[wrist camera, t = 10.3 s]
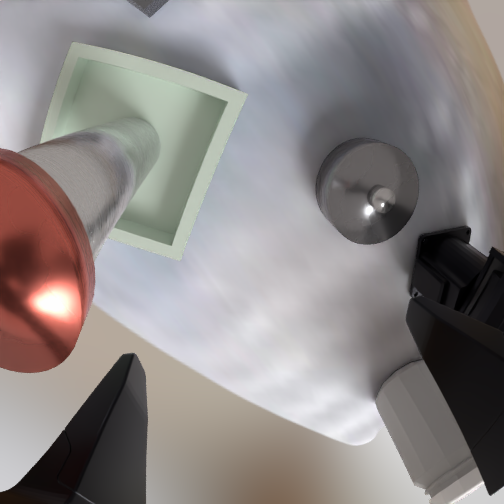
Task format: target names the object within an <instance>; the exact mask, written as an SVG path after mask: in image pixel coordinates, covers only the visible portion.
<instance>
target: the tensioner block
mask: <svg viewBox="0 0 504 504" xmlns="http://www.w3.org/2000/svg"><path fill="white" fill-rule="evenodd" d="M127 1H128V2H130V3H131V4H132V5H134V6H135V7H136V8H138V9H139V10H140V11H142V12H143V13H144V14H146V15H147V16H148V17H151V16H152V15H153V14H154V13H155V12H156V11H157V10H159V9H160V8H161V7H162V6H163V5H164V4H165V3H166V2H168V1H169V0H127Z"/></svg>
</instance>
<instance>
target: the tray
mask: <svg viewBox="0 0 504 504" xmlns="http://www.w3.org/2000/svg"><path fill="white" fill-rule="evenodd" d="M247 96H248V94H246V93H244V92H241V91H239V90H236V89H234V88H231V87H229V86H226V85H224V84H221V83H218V82H216V81H213V80H210V79H207V78H205V77H202V76H199V75H196V74H193V73H190V72H187V71H184V70H181V69H178V68H175V67H172V66H169V65H165V64H162V63H159V62H155V61H152V60H149V59H145V58H141V57H138V56H134V55H130V54H126V53H122V52H118V51H114V50H110V49H106V48H101V47H96V46H92V45H87V44H82V43H77V42H72V44H71V46H70V49H69V51H68V54H67V56H66V59H65V61H64V64H63V67H62V69H61V72H60V75H59V78H58V81H57V84H56V87H55V90H54V93H53V96H52V100H51V103H50V106H49V110H48V113H47V117H46V121H45V124H44V128H43V132H42V136H41V141H40V144H41V143H44V142H46V141H49V140H52V139H55V138H58V137H61V136H64V135H67V134H70V133H73V132H76V131H80V130H83V129H86V128H90V127H93V126H96V125H100V124H104V123H107V122H111V121H115V120H118V119H122V118H127V117H137V118H141V119H143V120H145V121H147V122H148V123H150V124H151V125H152V126H153V127H154V128H155V130H156V131H157V133H158V136H159V139H160V144H161V150H160V155H159V158H158V160H157V162H156V164H155V165H154V167H153V168H152V170H151V171H150V173H149V174H148V176H147V177H146V178H145V180H144V181H143V183H142V184H141V186H140V187H139V189H138V190H137V192H136V193H135V195H134V196H133V198H132V199H131V201H130V203H129V204H128V206H127V207H126V209H125V210H124V212H123V214H122V215H121V217H120V218H119V220H118V222H117V223H116V225H115V227H114V228H113V230H112V231H111V233H110V235H109V237H108V238H109V239H112V240H115V241H118V242H121V243H124V244H127V245H131V246H134V247H137V248H140V249H143V250H146V251H149V252H153V253H156V254H159V255H162V256H165V257H169V258H172V259H175V260H178V261H180V260H181V258H182V255H183V252H184V249H185V247H186V244H187V241H188V238H189V236H190V233H191V230H192V228H193V225H194V222H195V220H196V217H197V215H198V212H199V209H200V207H201V204H202V202H203V199H204V197H205V194H206V192H207V189H208V187H209V184H210V182H211V179H212V177H213V174H214V172H215V169H216V167H217V164H218V162H219V160H220V157H221V155H222V152H223V150H224V148H225V145H226V143H227V141H228V138H229V136H230V134H231V131H232V129H233V127H234V125H235V122H236V120H237V118H238V116H239V113H240V111H241V109H242V107H243V104H244V102H245V100H246V98H247Z"/></svg>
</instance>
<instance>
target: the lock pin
mask: <svg viewBox="0 0 504 504" xmlns="http://www.w3.org/2000/svg"><path fill="white" fill-rule="evenodd" d="M160 150H161V144H160V139H159V136H158V133H157V131H156V130H155V128H154V127H153V126H152V125H151V124H150V123H148V122H147V121H145V120H143V119H141V118H137V117H127V118H122V119H118V120H115V121H111V122H107V123H104V124H100V125H96V126H93V127H90V128H86V129H83V130H80V131H76V132H73V133H70V134H67V135H64V136H61V137H58V138H55V139H52V140H49V141H46V142H44V143H41V144H38V145H36V146H33V147H30V148H28V149H25V150H23V151H20V152H18V153H16V152H13V151H11V150H6V149H1V148H0V367H1V368H4V369H7V370H10V371H16V372H23V373H35V372H42V371H47V370H49V369H52V368H54V367H56V366H58V365H59V364H61V363H62V362H63V361H64V360H65V359H66V358H67V357H68V356H69V355H70V353H71V352H72V350H73V349H74V347H75V344H76V342H77V339H78V337H79V334H80V331H81V329H82V326H83V324H84V321H85V319H86V317H87V314H88V311H89V309H90V307H91V304H92V300H93V296H94V289H95V266H94V261H95V259H96V257H97V256H98V254H99V252H100V250H101V248H102V247H103V245H104V243H105V242H106V240H107V238H108V237H109V235H110V233H111V231H112V230H113V228H114V227H115V225H116V223H117V222H118V220H119V218H120V217H121V215H122V214H123V212H124V210H125V209H126V207H127V206H128V204H129V203H130V201H131V199H132V198H133V196H134V195H135V193H136V192H137V190H138V189H139V187H140V186H141V184H142V183H143V181H144V180H145V178H146V177H147V176H148V174H149V173H150V171H151V170H152V168H153V167H154V165H155V164H156V162H157V160H158V158H159V155H160Z"/></svg>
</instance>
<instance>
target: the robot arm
mask: <svg viewBox="0 0 504 504" xmlns="http://www.w3.org/2000/svg"><path fill="white" fill-rule="evenodd" d="M470 235H471V228H469V227H468V226H463V227H458V228H453V229H448V230H443V231H438V232H432V233H427V234H423V235H421V236H420V238H419V240H418V248H417V254H416V261H415V267H414V273H413V279H412V284H411V290H410V296H411V297H412V298H411V299H410V301H409V305H408V310H407V314H406V322H407V325H408V327H409V329H410V332H411V334H412V336H413V338H414V340H415V343H416V345H417V347H418V349H419V352H420V354H421V356H422V358H423V360H424V362H425V364H426V366H427V367H428V369H429V371H430V373H431V374H432V376H433V378H434V380H435V382H436V384H437V385H438V387H439V389H440V391H441V393H442V395H443V397H444V399H445V400H446V402H447V404H448V406H449V408H450V410H451V412H452V414H453V416H454V418H455V420H456V422H457V424H458V426H459V428H460V430H461V432H462V434H463V436H464V439H465V441H466V443H467V445H468V447H469V449H470V450H471V451H470V452H471V454H472V456H473V458H474V461H475V463H476V465H477V467H478V470H479V472H480V474H481V477H482V479H483V481H484V484H485V486H486V489H487V491H488V493H489V495H490V496H492V495H493V494H495V493H496V492H497V491H499V490H500V489H501V488H503V487H504V252H502V251H500V250H498V249H496V248H494V247H492V248H491V250H490V252H489V253H490V254H489V256H488V258H487V257H486V256H485V255H483V254H482V253H481V252H479V251H478V250H477V249H475V248H474V247H473V246H471V245H470V244H469V241H470ZM424 240H425V241H424ZM423 241H424V242H423ZM423 296H424V297H423ZM147 414H148V412H147V396H146V376H145V371H144V369H143V367H142V365H141V363H140V361H139V359H138V357H137V355H136V354H135V353H128V354H123V355H122V356H121V357H120V358H119V360H118V361H117V362H116V363H115V364H114V366H113V367H112V368H111V369H110V371H109V372H108V373H107V374H106V376H105V377H104V378H103V380H102V381H101V382H100V383H99V385H98V386H97V387H96V388H95V390H94V391H93V392H92V394H91V395H90V396H89V397H88V399H87V400H86V401H85V403H84V404H83V405H82V406H81V408H80V409H79V410H78V412H77V413H76V414H75V416H74V417H73V418H72V420H71V421H70V422H69V423H68V425H67V426H66V427H65V430H63V431H62V433H61V434H60V435H59V437H58V438H57V439H56V441H55V442H54V443H53V444H52V446H51V447H50V448H49V449H48V451H47V452H46V453H45V454H44V455H43V456H42V457H41V458H40V460H39V461H38V462H37V463H36V464H35V465H34V466H33V467H32V468H31V469H30V471H29V472H28V473H27V474H26V475H25V476H24V477H23V478H22V479H21V481H19V482H18V483H17V484H16V485H15V486H14V487H12V488H11V489H9V490H6V491H3V492H0V504H146V450H147V426H148V425H147V424H148V415H147Z"/></svg>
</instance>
